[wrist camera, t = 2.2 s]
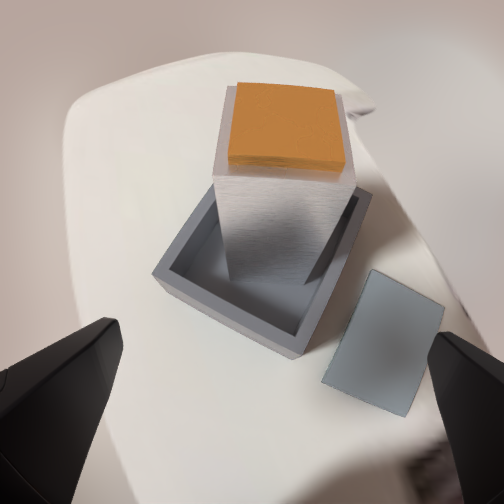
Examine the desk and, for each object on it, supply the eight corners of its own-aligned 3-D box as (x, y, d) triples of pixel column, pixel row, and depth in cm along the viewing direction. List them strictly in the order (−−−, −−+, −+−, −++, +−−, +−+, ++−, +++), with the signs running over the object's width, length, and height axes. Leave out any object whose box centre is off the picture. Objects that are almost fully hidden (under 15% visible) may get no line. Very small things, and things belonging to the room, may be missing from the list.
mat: (402, 416, 19) (405, 417, 19) (321, 381, 20) (322, 381, 20) (441, 309, 22) (444, 307, 22) (370, 271, 23) (372, 269, 23)
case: (292, 360, 21) (301, 355, 17) (166, 291, 22) (151, 274, 19) (356, 221, 25) (372, 194, 21) (246, 169, 27) (246, 138, 23)
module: (303, 285, 22) (361, 175, 10) (229, 281, 22) (210, 164, 10) (303, 220, 24) (343, 85, 12) (235, 216, 24) (226, 75, 12)
